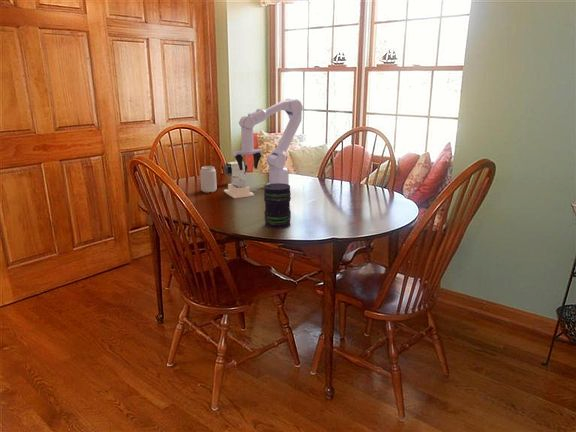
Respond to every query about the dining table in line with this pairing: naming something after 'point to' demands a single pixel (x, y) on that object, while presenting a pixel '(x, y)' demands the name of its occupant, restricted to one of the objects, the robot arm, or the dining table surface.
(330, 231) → the dining table surface
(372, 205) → the dining table surface
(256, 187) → the dining table surface
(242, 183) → the grey block
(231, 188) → the hollow block
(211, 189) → the can
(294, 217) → the dining table surface
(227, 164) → the pneumatic valve
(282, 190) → the storage jar
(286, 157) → the robot arm
